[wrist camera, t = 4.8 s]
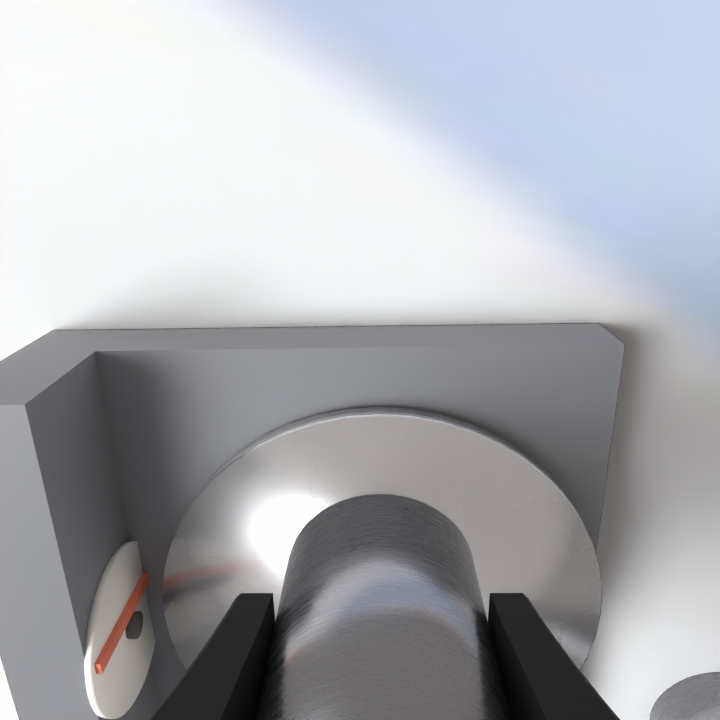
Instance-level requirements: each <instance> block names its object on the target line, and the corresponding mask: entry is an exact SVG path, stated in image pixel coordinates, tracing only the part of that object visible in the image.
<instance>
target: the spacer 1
mask: <svg viewBox="0 0 720 720" xmlns="http://www.w3.org/2000/svg"><path fill="white" fill-rule="evenodd" d="M255 720H511V719H510V715H509V710H508V706H507V702H506V698H505V693H504V689H503V685H502V681H501V676H500V672H499V668H498V663H497V659H496V655H495V651H494V646H493V642H492V638H491V634H490V629H489V625H488V621H487V617H486V612H485V608H484V604H483V600H482V595H481V591H480V587H479V583H478V578H477V574H476V570H475V565H474V561H473V557H472V553H471V550H470V547H469V545H468V542H467V540H466V539H465V537H464V535H463V534H462V532H461V531H460V530H459V529H458V527H457V526H456V525H455V524H454V523H453V522H452V521H451V520H450V519H449V518H448V517H447V516H445V515H444V514H443V513H441V512H440V511H438V510H437V509H435V508H433V507H431V506H430V505H428V504H426V503H423V502H420V501H418V500H415V499H412V498H408V497H404V496H399V495H391V494H370V495H361V496H357V497H352V498H349V499H345V500H342V501H339V502H337V503H335V504H333V505H331V506H329V507H327V508H325V509H324V510H322V511H321V512H319V513H318V514H317V515H315V516H314V517H313V518H312V519H311V520H309V521H308V523H307V524H306V525H305V526H304V527H303V528H302V529H301V531H300V532H299V534H298V535H297V537H296V539H295V541H294V543H293V545H292V547H291V551H290V554H289V558H288V563H287V568H286V572H285V577H284V582H283V587H282V592H281V597H280V602H279V607H278V611H277V616H276V621H275V626H274V631H273V636H272V641H271V646H270V650H269V655H268V660H267V665H266V670H265V675H264V680H263V684H262V689H261V694H260V699H259V704H258V709H257V714H256V719H255Z"/></svg>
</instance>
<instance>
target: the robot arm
mask: <svg viewBox="0 0 720 720" xmlns="http://www.w3.org/2000/svg"><path fill="white" fill-rule="evenodd" d="M488 625H489V629H490V634H491V638H492V642H493V646H494V651H495V655H496V659H497V663H498V668H499V672H500V676H501V681H502V685H503V689H504V693H505V698H506V702H507V706H508V710H509V715H510V719H511V720H620V719H619V718H618V717H617V716H616V715H615V713H614V712H613V711H612V710H611V709H610V707H609V706H608V705H607V704H606V703H605V701H604V700H603V699H602V698H601V697H600V695H599V694H598V693H597V692H596V690H595V689H594V688H593V686H592V685H591V684H590V683H589V681H588V680H587V679H586V678H585V676H584V675H583V674H582V673H581V671H580V670H579V669H578V668H577V666H576V665H575V664H574V662H573V661H572V660H571V658H570V657H569V656H568V654H567V653H566V652H565V650H564V649H563V648H562V646H561V645H560V644H559V642H558V641H557V639H556V638H555V637H554V635H553V634H552V632H551V631H550V630H549V628H548V627H547V625H546V624H545V623H544V621H543V620H542V618H541V617H540V615H539V614H538V612H537V611H536V609H535V608H534V606H533V605H532V603H531V602H530V600H529V599H528V598H527V597H526V596H525V595H524V594H523V593H490V597H489V612H488ZM274 626H275V612H274V600H273V593H241V594H239V595H238V596H237V597H236V598H235V600H234V601H233V603H232V604H231V606H230V608H229V609H228V611H227V612H226V614H225V616H224V617H223V619H222V620H221V622H220V623H219V625H218V626H217V628H216V629H215V631H214V632H213V634H212V635H211V637H210V638H209V640H208V641H207V643H206V644H205V645H204V647H203V648H202V650H201V651H200V653H199V654H198V655H197V657H196V658H195V659H194V661H193V662H192V664H191V665H190V666H189V668H188V669H187V670H186V672H185V673H184V674H183V676H182V677H181V679H180V680H179V681H178V683H177V684H176V685H175V687H174V688H173V689H172V691H171V692H170V693H169V694H168V696H167V697H166V698H165V699H164V701H163V702H162V703H161V704H160V706H159V707H158V708H157V709H156V710H155V712H154V713H153V714H152V715H151V717H150V718H149V719H148V720H255V719H256V714H257V709H258V704H259V699H260V694H261V689H262V684H263V680H264V675H265V670H266V665H267V660H268V655H269V650H270V646H271V641H272V636H273V631H274Z"/></svg>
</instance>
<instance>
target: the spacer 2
mask: <svg viewBox="0 0 720 720" xmlns="http://www.w3.org/2000/svg"><path fill="white" fill-rule="evenodd" d="M650 720H720V672H712V673H704V674H699V675H695V676H692V677H689V678H686V679H684V680H682V681H680V682H678V683H676V684H674V685H673V686H671V687H670V688H668V689H667V690H666V691H665V692H664V693H663V694H662V695H661V696H660V697H659V698H658V699H657V701H656V702H655V704H654V706H653V708H652V710H651V714H650Z"/></svg>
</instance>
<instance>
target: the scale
mask: <svg viewBox="0 0 720 720" xmlns="http://www.w3.org/2000/svg"><path fill="white" fill-rule="evenodd" d="M624 347H625V344H624V343H623V342H621V341H620V340H619V339H618V338H616V337H615V336H614V335H613V334H611V333H610V332H609V331H608V330H607V329H605V328H604V327H603V326H602V325H600V324H599V323H568V324H493V325H419V326H344V327H270V328H195V329H121V330H52V331H51V332H49V333H47V334H46V335H44V336H42V337H41V338H39V339H37V340H35V341H34V342H32V343H30V344H29V345H27V346H25V347H24V348H22V349H20V350H19V351H17V352H15V353H14V354H12V355H10V356H8V357H7V358H5V359H3V360H2V361H0V657H1V660H2V664H3V667H4V670H5V674H6V677H7V680H8V684H9V687H10V690H11V694H12V697H13V701H14V704H15V707H16V711H17V714H18V717H19V720H148V719H149V718H150V717H151V715H152V714H153V713H154V712H155V710H156V709H157V708H158V707H159V706H160V704H161V703H162V702H163V701H164V699H165V698H166V697H167V696H168V694H169V693H170V692H171V691H172V689H173V688H174V687H175V685H176V684H177V683H178V681H179V680H180V679H181V677H182V676H183V674H184V673H185V672H186V669H185V667H184V665H183V664H182V662H181V660H180V659H179V657H178V654H177V652H176V650H175V647H174V645H173V643H172V640H171V638H170V634H169V630H168V626H167V623H166V619H165V614H164V603H163V581H164V569H165V565H166V561H167V557H168V553H169V548H170V545H171V543H172V541H173V538H174V536H175V534H176V531H177V529H178V527H179V524H180V522H181V520H182V518H183V516H184V514H185V512H186V510H187V509H188V507H189V506H190V504H191V502H192V501H193V499H194V498H195V496H196V495H197V493H198V491H199V490H200V489H201V487H202V486H203V485H204V484H205V483H206V482H207V480H208V479H209V478H210V477H211V476H212V475H213V474H214V472H215V471H216V470H217V469H218V468H219V467H221V466H222V465H223V464H224V463H225V462H226V461H228V460H229V459H230V458H231V457H232V456H233V455H235V454H236V453H237V452H238V451H240V450H241V449H243V448H245V447H246V446H248V445H249V444H251V443H252V442H254V441H255V440H257V439H259V438H260V437H262V436H264V435H266V434H268V433H270V432H273V431H275V430H277V429H279V428H281V427H283V426H285V425H287V424H290V423H294V422H297V421H300V420H303V419H306V418H309V417H312V416H315V415H320V414H325V413H330V412H335V411H340V410H346V409H358V408H372V407H386V408H406V409H414V410H420V411H426V412H432V413H437V414H442V415H445V416H449V417H452V418H455V419H459V420H462V421H465V422H468V423H471V424H473V425H476V426H478V427H480V428H482V429H485V430H487V431H489V432H491V433H494V434H496V435H498V436H499V437H501V438H503V439H504V440H506V441H508V442H509V443H511V444H512V445H514V446H516V447H517V448H519V449H521V450H522V451H523V452H525V453H526V454H527V455H528V456H529V457H531V458H532V459H533V460H534V461H536V462H537V463H538V464H539V465H540V466H542V467H543V468H544V469H545V470H546V471H547V473H548V474H549V475H550V476H551V477H552V478H553V479H554V480H555V481H556V482H557V483H558V485H559V486H560V487H561V488H562V490H563V491H564V492H565V494H566V495H567V497H568V498H569V500H570V501H571V503H572V504H573V506H574V507H575V509H576V511H577V513H578V514H579V516H580V518H581V520H582V522H583V524H584V526H585V528H586V530H587V533H588V535H589V537H590V539H591V541H592V543H593V546H594V550H595V553H596V548H597V541H598V533H599V526H600V519H601V512H602V505H603V498H604V490H605V483H606V476H607V469H608V462H609V455H610V447H611V440H612V433H613V426H614V419H615V412H616V405H617V397H618V390H619V383H620V376H621V369H622V362H623V354H624Z"/></svg>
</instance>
